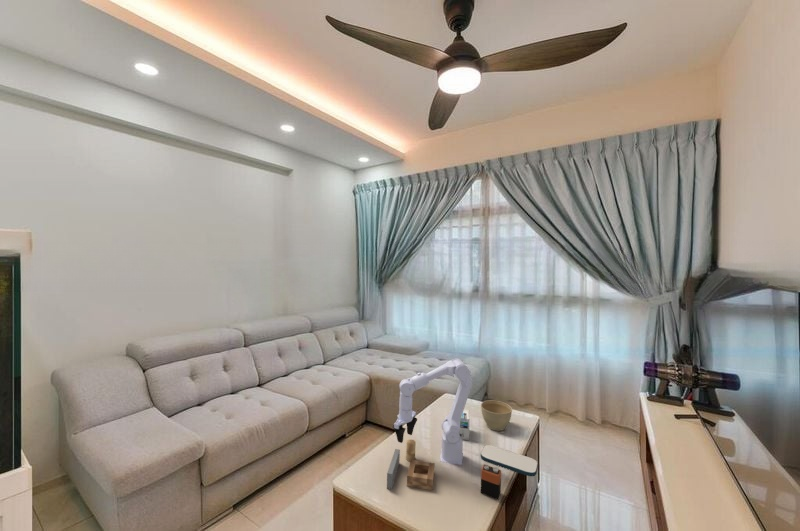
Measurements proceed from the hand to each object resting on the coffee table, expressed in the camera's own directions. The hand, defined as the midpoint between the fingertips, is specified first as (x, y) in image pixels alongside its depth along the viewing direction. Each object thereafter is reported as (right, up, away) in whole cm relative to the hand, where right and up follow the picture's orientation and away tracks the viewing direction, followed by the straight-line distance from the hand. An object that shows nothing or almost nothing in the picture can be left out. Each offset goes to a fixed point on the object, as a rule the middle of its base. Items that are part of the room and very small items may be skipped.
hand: (405, 438), depth 139 cm
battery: (+33, -11, -19) cm, 39 cm away
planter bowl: (+50, -11, +31) cm, 59 cm away
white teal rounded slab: (+46, -12, +1) cm, 48 cm away
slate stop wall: (-5, -9, -11) cm, 15 cm away
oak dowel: (+2, -10, 0) cm, 10 cm away
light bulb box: (+30, -10, +22) cm, 39 cm away
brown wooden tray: (+6, -9, -13) cm, 17 cm away
